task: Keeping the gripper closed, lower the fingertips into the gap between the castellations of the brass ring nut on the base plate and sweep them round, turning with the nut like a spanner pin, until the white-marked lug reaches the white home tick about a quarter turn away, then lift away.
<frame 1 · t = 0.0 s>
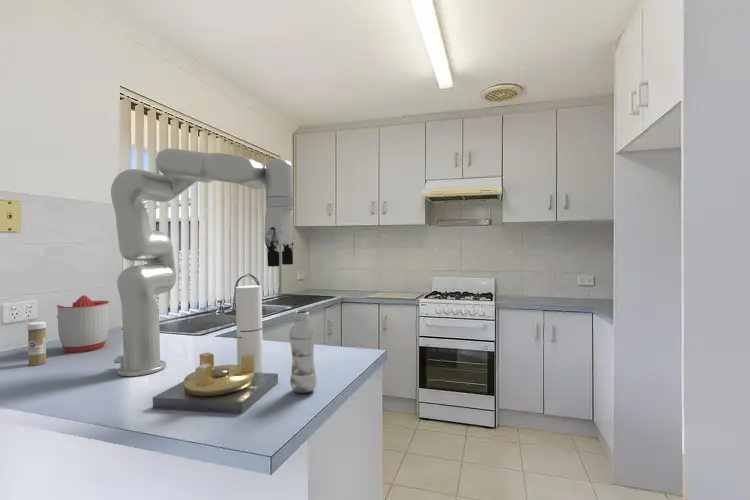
hand: (280, 265, 109), 31 cm above the counter, tool pointing down, fingers open, 9 cm apart
plastic bottle: (303, 392, 97), on the counter
citrus juicer: (82, 349, 144), on the counter
base plate: (220, 394, 96), on the counter
cylindrical container: (250, 372, 113), on the counter
ring nut: (219, 370, 96), point 6 cm above the counter, hinge at 0.0°
sprinkles bottle: (37, 364, 126), on the counter
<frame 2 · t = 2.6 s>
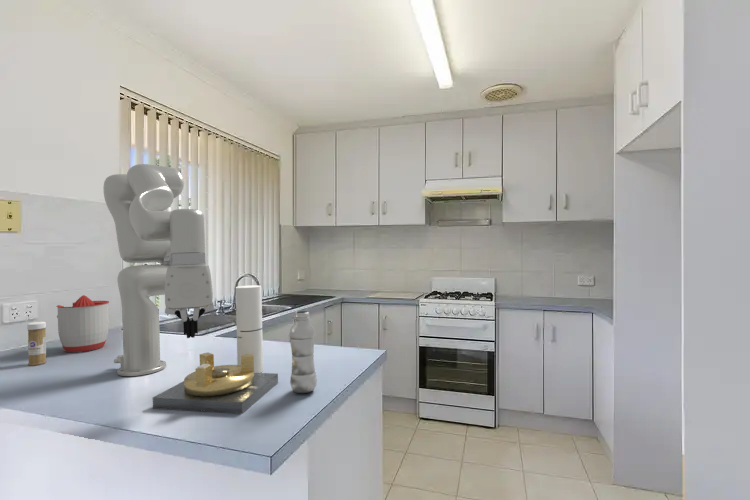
hand: (191, 336, 93), 15 cm above the counter, tool pointing down, fingers closed
nothing on the counter moved.
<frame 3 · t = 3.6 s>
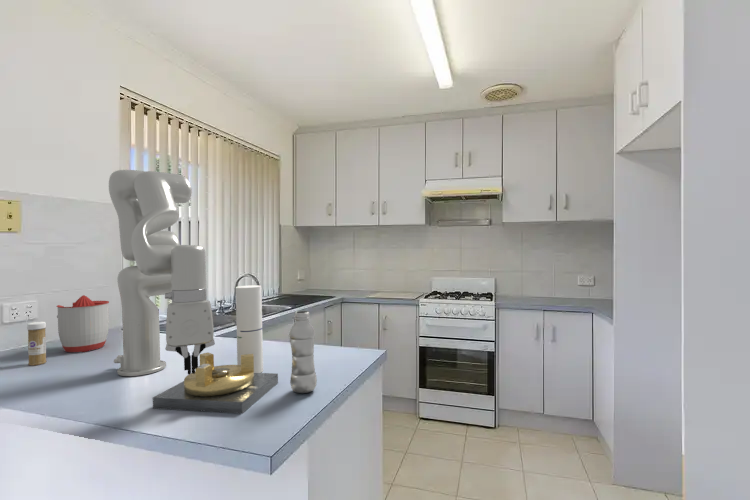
hand: (191, 372, 93), 7 cm above the counter, tool pointing down, fingers closed
nothing on the counter moved.
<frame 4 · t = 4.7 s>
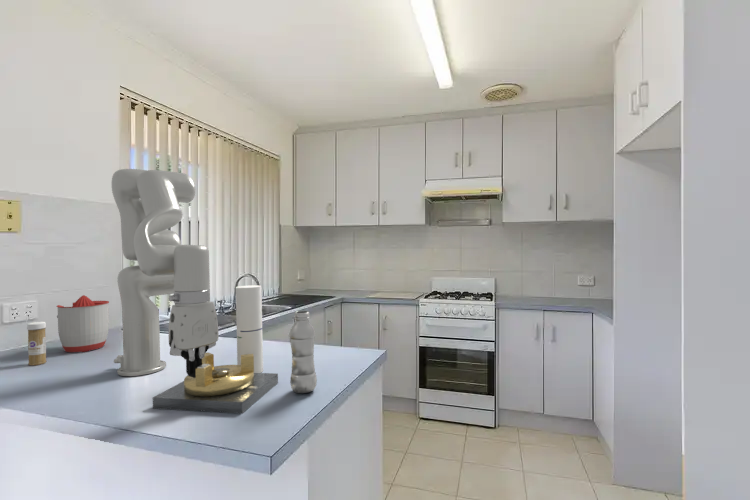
hand: (194, 375, 91), 7 cm above the counter, tool pointing down, fingers closed
ring nut: (219, 370, 96), point 6 cm above the counter, hinge at 0.0°, touching gripper
everything else where it was.
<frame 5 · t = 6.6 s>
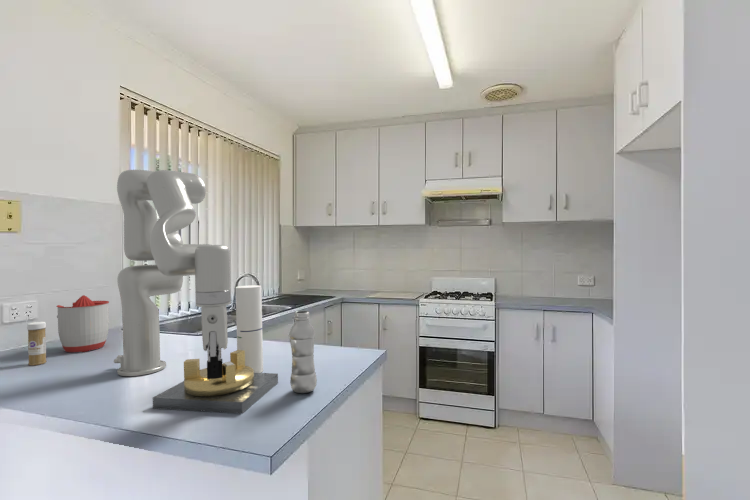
hand: (215, 377, 89), 7 cm above the counter, tool pointing down, fingers closed
ring nut: (219, 370, 96), point 6 cm above the counter, hinge at 48.8°, touching gripper
everything else where it was.
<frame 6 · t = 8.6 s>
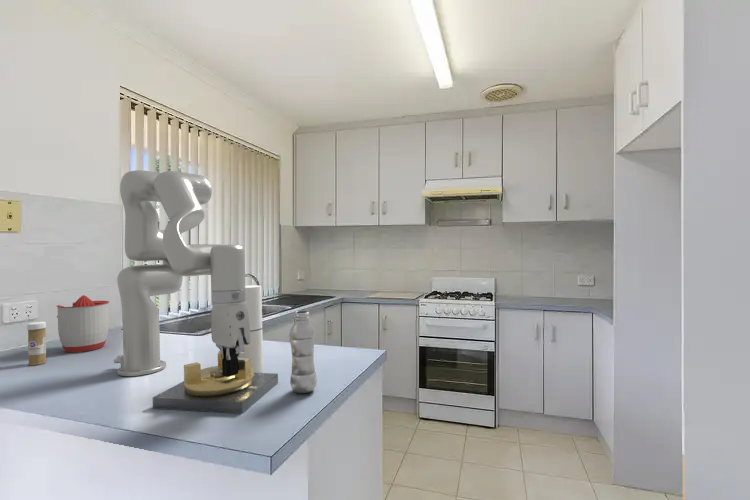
hand: (230, 374, 91), 6 cm above the counter, tool pointing down, fingers closed
ring nut: (219, 370, 96), point 6 cm above the counter, hinge at 83.9°
everything else where it was.
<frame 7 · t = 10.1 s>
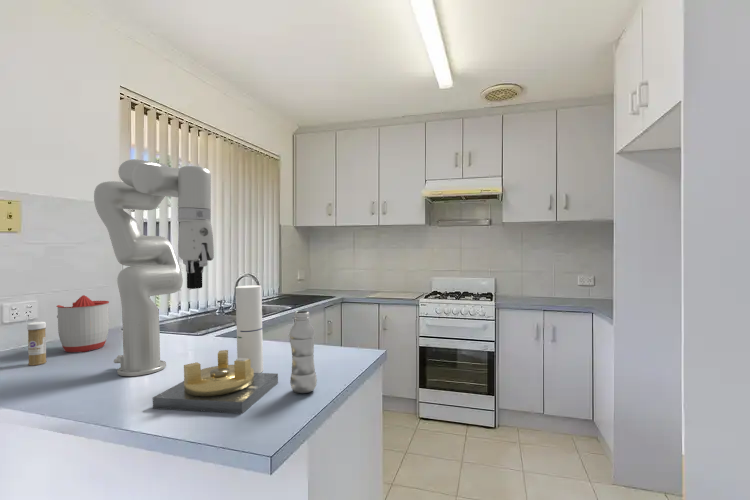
hand: (194, 288, 99), 26 cm above the counter, tool pointing down, fingers closed
nothing on the counter moved.
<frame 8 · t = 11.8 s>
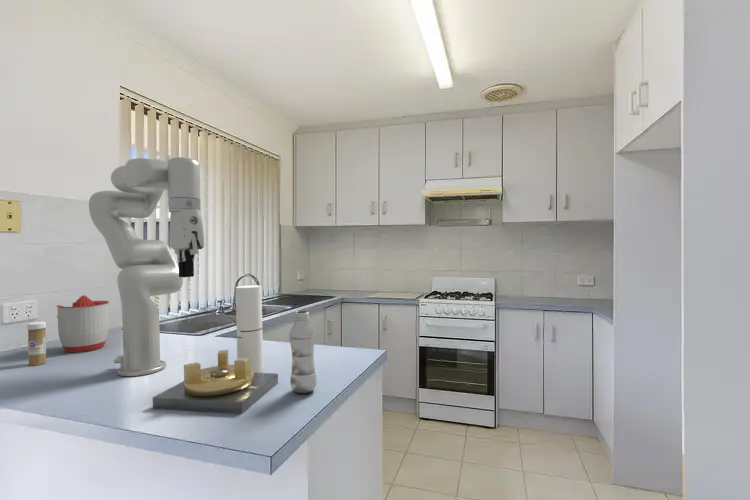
hand: (186, 276, 101), 29 cm above the counter, tool pointing down, fingers closed
nothing on the counter moved.
at the end: ring nut at +84° (first picture: +0°); ring nut touching nothing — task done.
